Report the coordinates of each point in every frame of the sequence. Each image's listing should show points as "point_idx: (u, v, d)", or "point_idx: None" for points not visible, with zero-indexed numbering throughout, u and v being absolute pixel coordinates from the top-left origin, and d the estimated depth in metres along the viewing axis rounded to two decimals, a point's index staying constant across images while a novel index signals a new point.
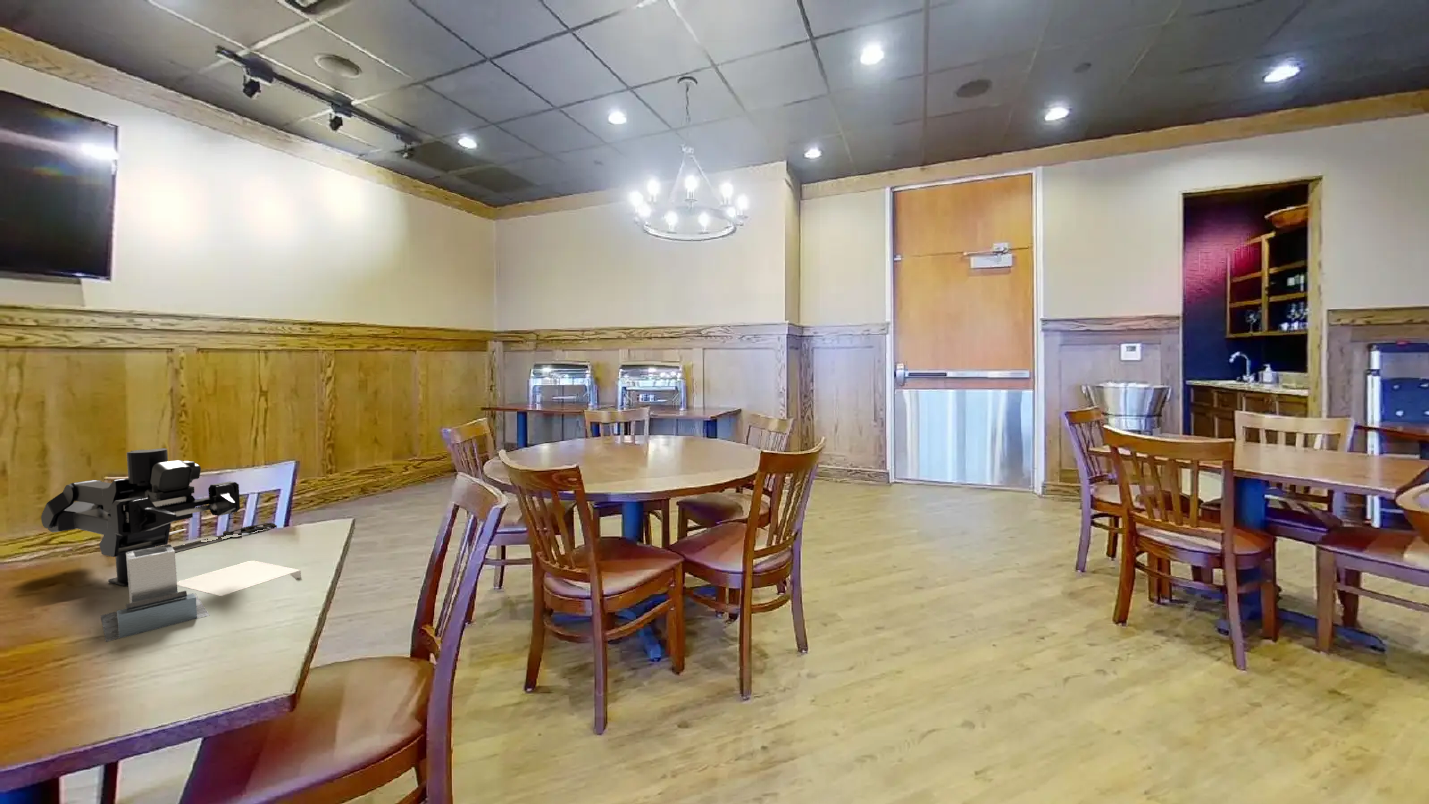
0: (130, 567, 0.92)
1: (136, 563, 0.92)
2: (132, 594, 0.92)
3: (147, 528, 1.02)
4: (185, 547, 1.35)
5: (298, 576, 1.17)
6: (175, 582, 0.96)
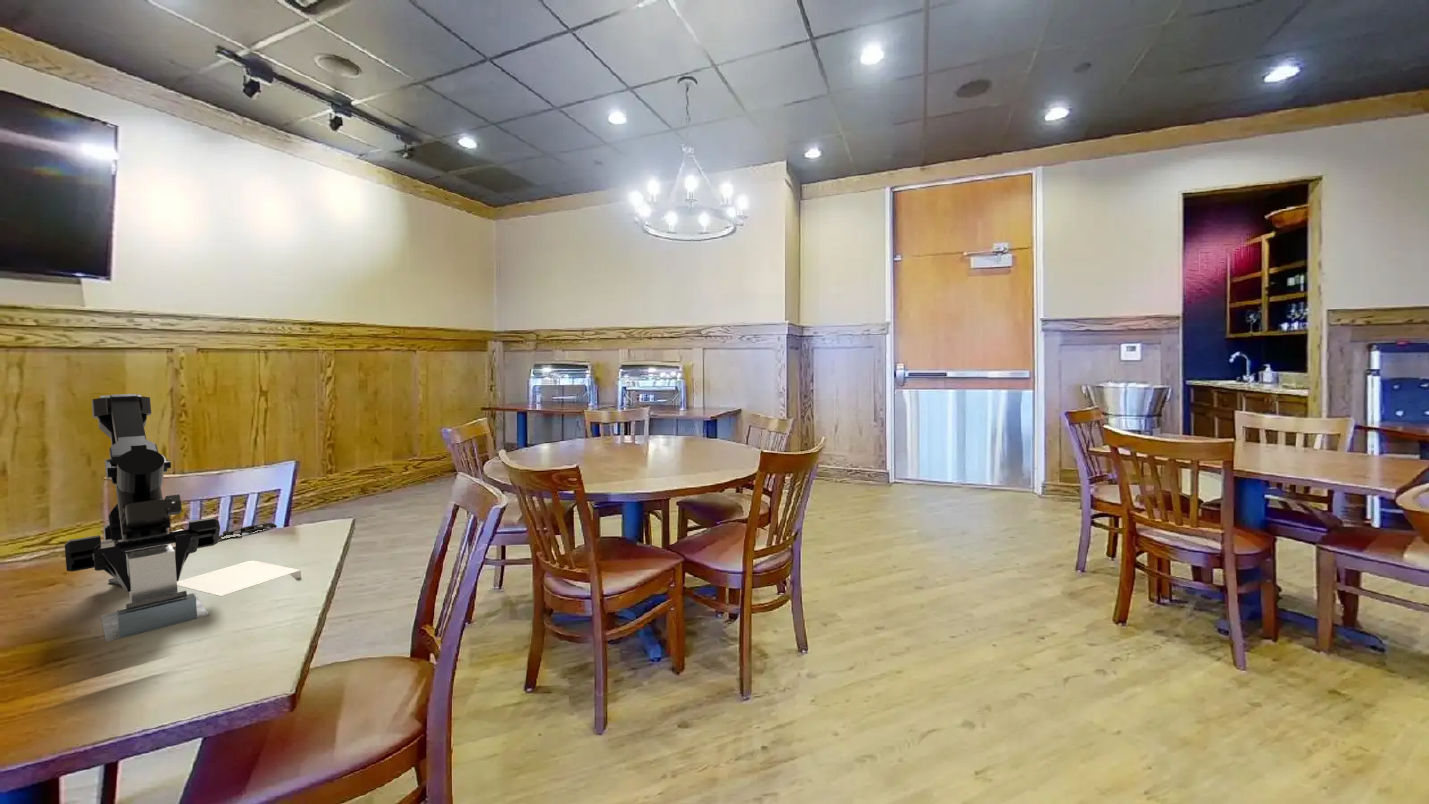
0: (130, 567, 0.92)
1: (136, 563, 0.92)
2: (132, 594, 0.92)
3: (110, 573, 0.95)
4: None
5: (298, 576, 1.17)
6: (175, 582, 0.96)
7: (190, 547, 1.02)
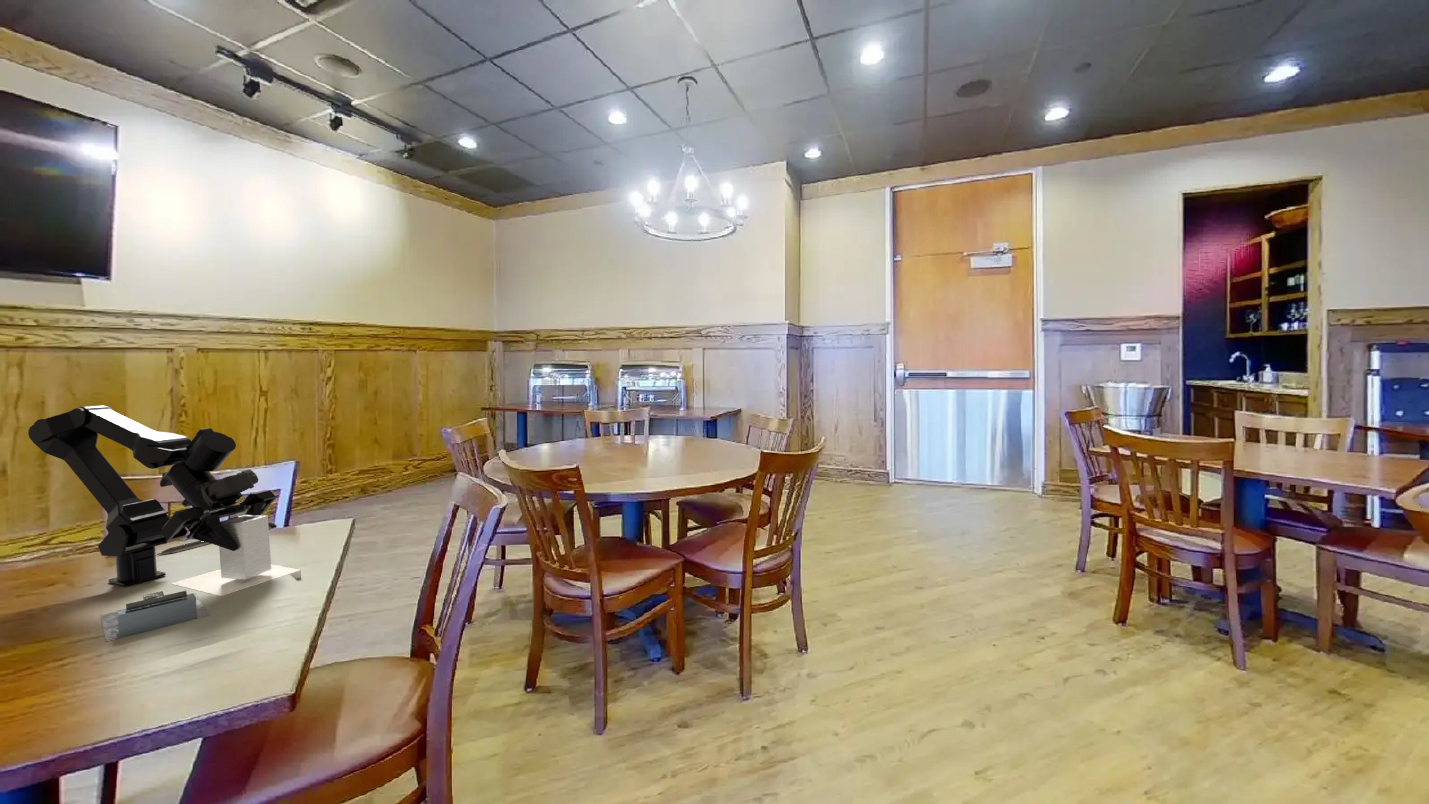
0: (242, 530, 1.09)
1: (246, 526, 1.10)
2: (244, 553, 1.09)
3: (203, 540, 1.08)
4: (186, 547, 1.35)
5: (298, 576, 1.17)
6: (268, 542, 1.14)
7: None
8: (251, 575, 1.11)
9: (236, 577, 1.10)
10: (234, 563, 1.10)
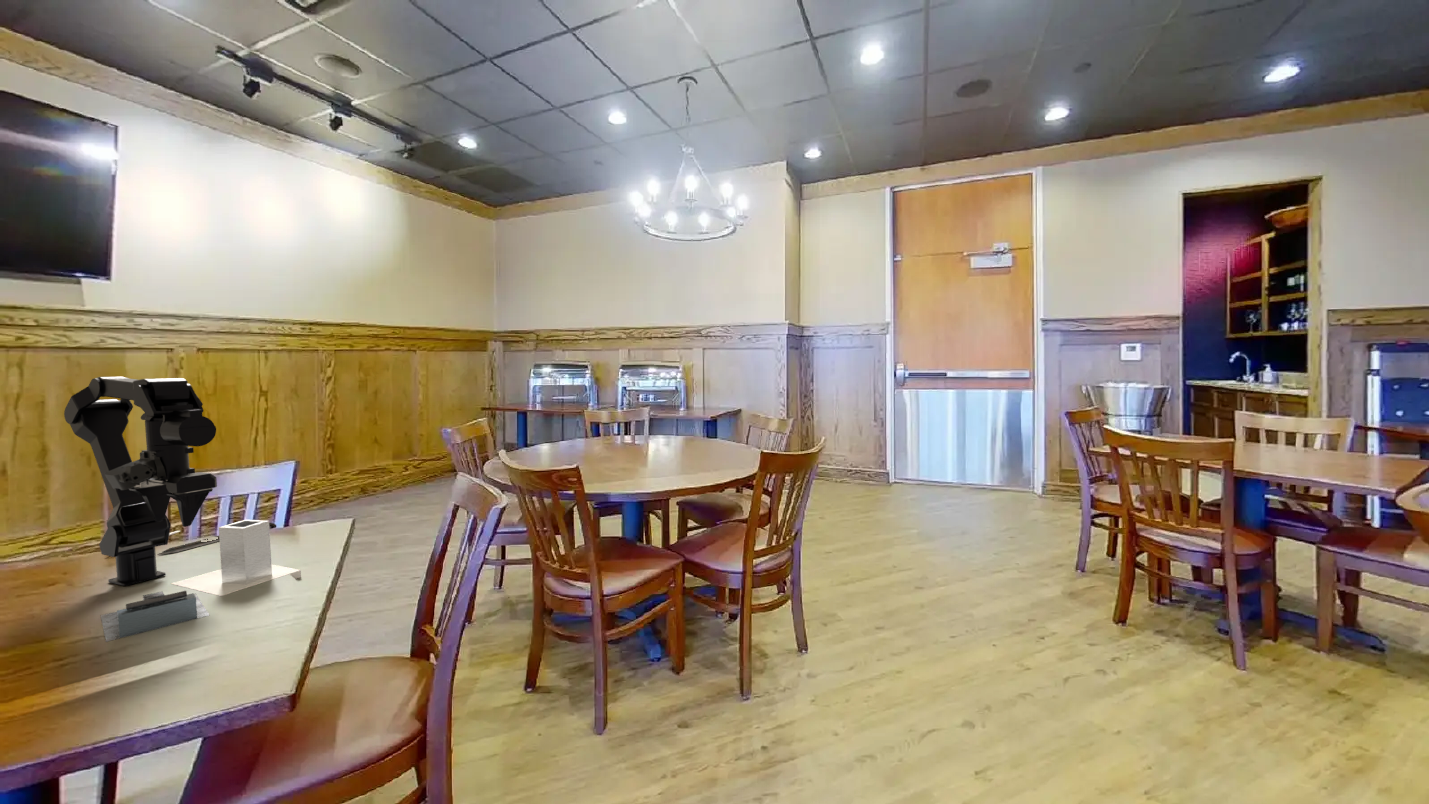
0: (243, 535, 1.09)
1: (247, 531, 1.10)
2: (245, 558, 1.09)
3: None
4: (187, 547, 1.35)
5: (298, 576, 1.17)
6: (269, 547, 1.14)
7: None
8: (252, 580, 1.11)
9: (237, 582, 1.10)
10: (235, 568, 1.10)
